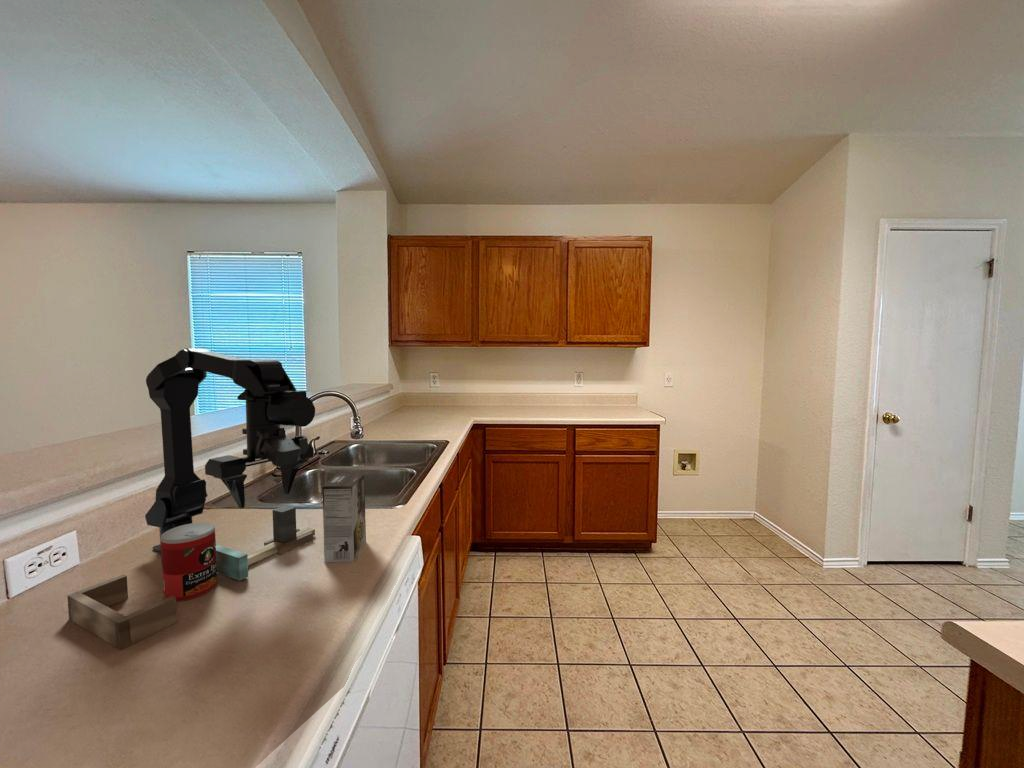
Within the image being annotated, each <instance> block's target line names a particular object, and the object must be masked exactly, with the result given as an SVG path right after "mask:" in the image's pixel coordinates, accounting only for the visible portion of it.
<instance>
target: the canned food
mask: <svg viewBox="0 0 1024 768" xmlns="http://www.w3.org/2000/svg"><path fill="white" fill-rule="evenodd" d="M216 544H217V541H216V527H215V525H214V524H213V523H212V522H211V523H210V522H202V521H201V522H193V523H191V524H186V525H182V526H178V527H175V528H172V529H170V530H168V531H166V532H164V533H163V534H162V535H161V552H160V554H161V555H160V557H161V572H162V573H161V574H162V588H163V589H162V590H163V594H164V597H165V598H167V597H170V596H174V597H176V602H181V601H182V602H183V601H189V600H192V599H195V598H199V597H201V596H203V595H205V594H207V593H209V592H210V591H211V590H213V589H214V587H215V586H216V584H217V582H218V573H217V563H216Z"/></svg>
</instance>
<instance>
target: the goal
mask: <svg viewBox="0 0 1024 768" xmlns="http://www.w3.org/2000/svg"><path fill="white" fill-rule="evenodd" d="M66 597H67V611H68V620H69V621H71V622H73V623H75V624H76V625H78V626H80V627H82V628H83V629H84V630H86V631H88V632H90V633H91V634H93V635H95V636H96V637H98V638H100V639H101V640H103V641H105V642H106V643H108V644H110V645H112V646H113V647H115V648H117V649H118V650H120V651H122V650H123V649H125V648H127V647H129V646H131V645H134V644H136V643H138V642H140V641H141V640H144V639H146V638H148V637H149V636H152V635H154V634H156V633H158V632H159V631H162V630H164V629H166V628H168V627H169V626H172V625H174V624H175V623H176V624H177V622H178V613H177V609H178V608H177V601H176V597H174V596H170V597H167V598H166V597H165V598H163V599H161V600H158V601H156V602H154V603H152V604H150V605H148V606H145V607H143V608H140V609H138V610H136V611H134V612H131V613H130V614H127V615H123V614H122V613H120V612H119V611H116V610H114V609H112V608H111V606H113V605H114V604H117V603H120V602H122V601H125V600H127V599H128V598H129V589H128V575H126V574H121V575H118V576H115V577H112V578H110V579H107V580H104V581H102V582H100V583H97V584H93V585H92V586H89V587H85V588H83V589H81V590H76V591H75V592H73V593H69V594H67V596H66Z"/></svg>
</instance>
